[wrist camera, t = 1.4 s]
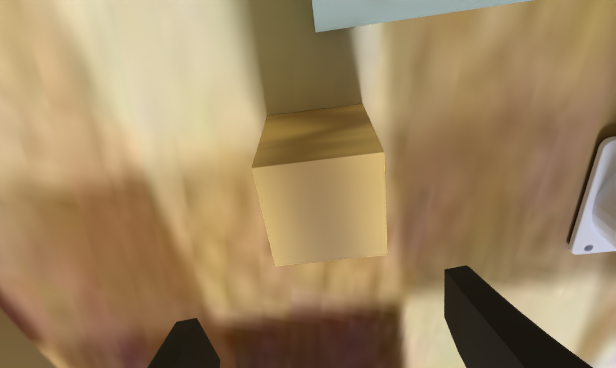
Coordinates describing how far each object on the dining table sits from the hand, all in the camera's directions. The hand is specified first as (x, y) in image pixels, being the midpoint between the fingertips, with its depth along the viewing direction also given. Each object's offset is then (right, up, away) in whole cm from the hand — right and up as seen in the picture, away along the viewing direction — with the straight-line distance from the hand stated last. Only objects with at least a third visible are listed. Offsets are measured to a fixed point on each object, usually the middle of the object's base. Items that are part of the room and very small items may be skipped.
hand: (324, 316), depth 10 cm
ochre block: (0, +6, +9) cm, 11 cm away
